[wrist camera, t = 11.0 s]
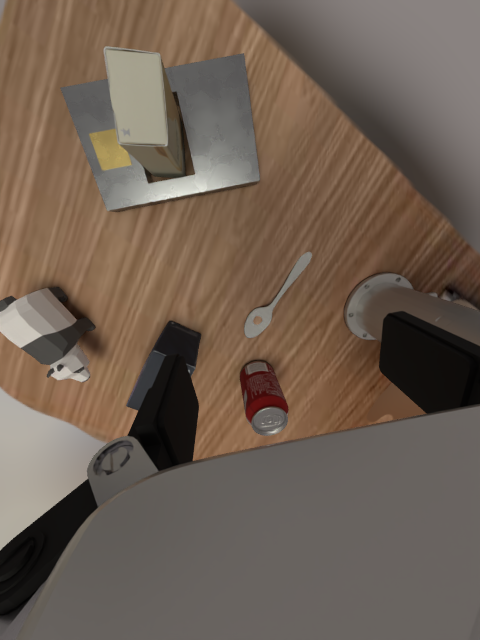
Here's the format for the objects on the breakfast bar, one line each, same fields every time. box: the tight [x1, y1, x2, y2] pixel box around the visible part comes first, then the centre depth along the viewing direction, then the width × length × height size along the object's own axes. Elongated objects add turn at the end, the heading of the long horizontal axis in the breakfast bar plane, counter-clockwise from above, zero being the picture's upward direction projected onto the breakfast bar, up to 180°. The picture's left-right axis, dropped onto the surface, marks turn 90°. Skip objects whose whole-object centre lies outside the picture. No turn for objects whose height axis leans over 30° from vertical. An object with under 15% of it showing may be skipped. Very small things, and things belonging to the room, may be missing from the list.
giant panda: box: [0, 287, 96, 382], centre depth 33 cm, size 15×6×10 cm, turn 28°
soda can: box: [240, 361, 288, 436], centre depth 39 cm, size 7×7×12 cm
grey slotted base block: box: [61, 53, 260, 212], centre depth 28 cm, size 20×12×3 cm, turn 101°
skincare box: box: [104, 46, 186, 178], centre depth 24 cm, size 6×4×12 cm
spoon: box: [244, 252, 312, 338], centre depth 38 cm, size 4×21×2 cm, turn 144°
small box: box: [126, 321, 201, 411], centre depth 36 cm, size 11×6×10 cm, turn 150°
